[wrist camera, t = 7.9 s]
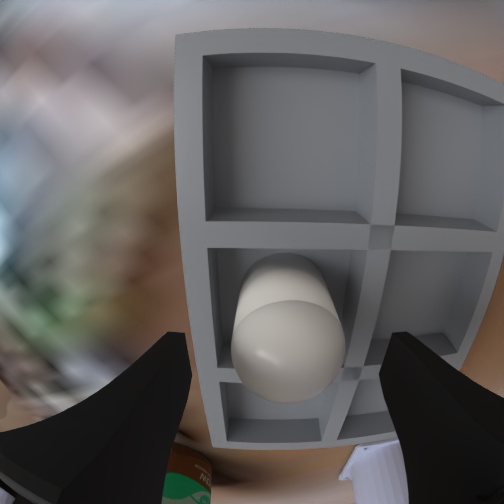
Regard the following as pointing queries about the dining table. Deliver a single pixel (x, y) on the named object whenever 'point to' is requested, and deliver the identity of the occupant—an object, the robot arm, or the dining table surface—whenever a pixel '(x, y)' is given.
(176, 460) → the food container
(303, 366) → the egg
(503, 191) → the grey compartment tray
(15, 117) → the dining table surface
